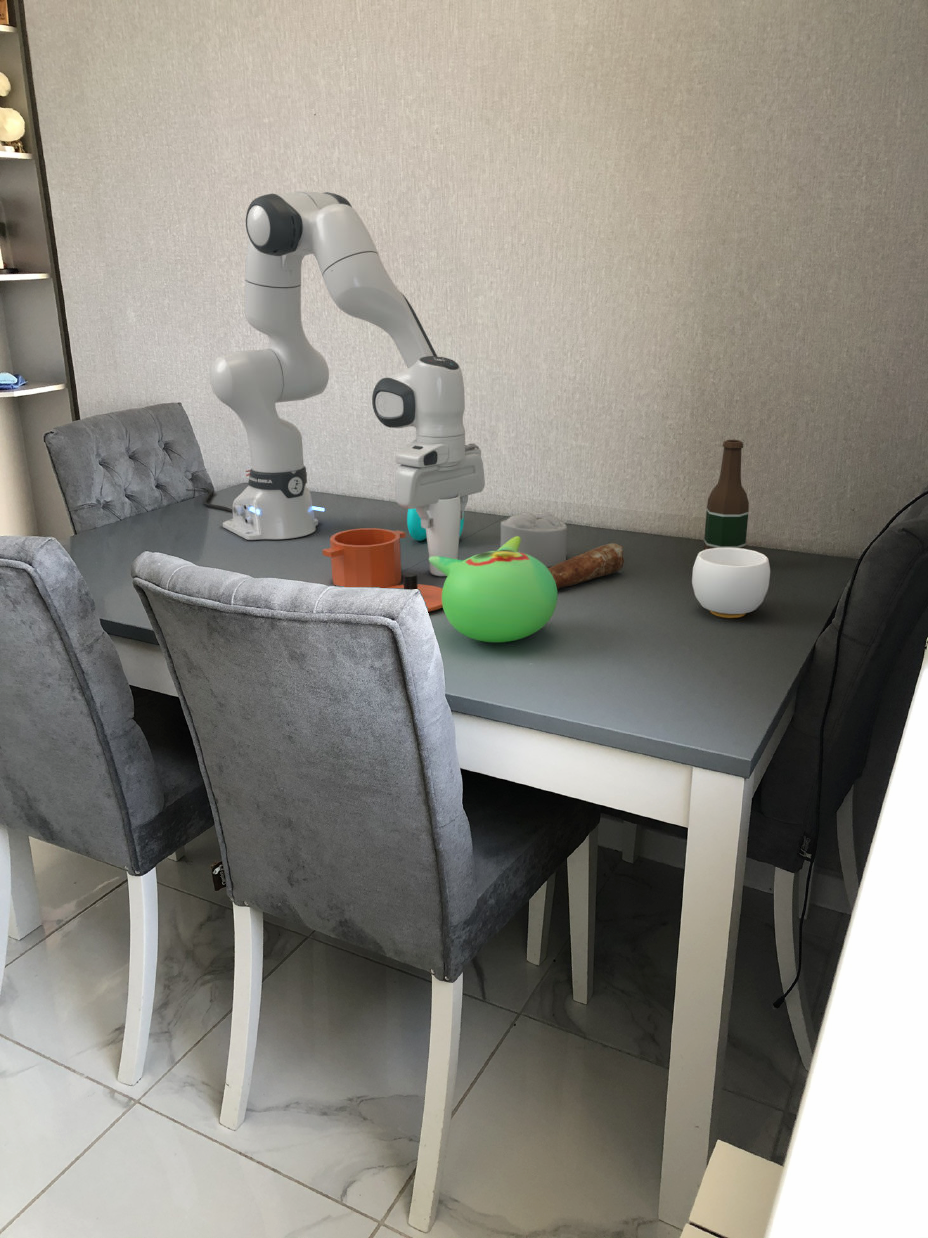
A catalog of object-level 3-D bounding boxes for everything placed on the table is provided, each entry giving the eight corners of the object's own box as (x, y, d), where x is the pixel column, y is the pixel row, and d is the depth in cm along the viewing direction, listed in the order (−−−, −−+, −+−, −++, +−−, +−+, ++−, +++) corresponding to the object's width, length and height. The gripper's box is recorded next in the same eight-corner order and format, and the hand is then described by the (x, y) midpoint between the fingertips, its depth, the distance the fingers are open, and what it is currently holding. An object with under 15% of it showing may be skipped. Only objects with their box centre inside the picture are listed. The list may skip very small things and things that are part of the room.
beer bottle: (746, 562, 188) (758, 438, 179) (739, 573, 181) (751, 445, 173) (706, 558, 191) (716, 436, 182) (698, 569, 184) (707, 442, 176)
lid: (354, 604, 167) (353, 575, 166) (412, 585, 177) (411, 558, 175) (409, 622, 158) (408, 592, 157) (467, 602, 168) (467, 573, 166)
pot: (307, 585, 177) (304, 540, 175) (381, 564, 190) (379, 522, 187) (352, 600, 169) (349, 553, 166) (425, 577, 181) (424, 533, 178)
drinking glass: (457, 579, 180) (456, 500, 175) (422, 577, 181) (419, 499, 176) (464, 568, 186) (463, 492, 181) (430, 567, 187) (428, 491, 182)
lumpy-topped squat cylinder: (525, 547, 200) (525, 506, 197) (577, 558, 192) (579, 515, 189) (493, 558, 192) (493, 516, 189) (547, 570, 184) (548, 526, 181)
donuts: (450, 549, 199) (450, 501, 195) (405, 545, 202) (404, 498, 199) (466, 536, 208) (465, 491, 204) (422, 533, 211) (421, 488, 207)
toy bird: (467, 665, 141) (466, 569, 136) (425, 628, 156) (422, 540, 151) (574, 645, 148) (577, 553, 143) (524, 612, 163) (525, 527, 157)
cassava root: (626, 574, 181) (628, 546, 179) (552, 596, 170) (552, 565, 168) (602, 566, 186) (603, 538, 184) (528, 587, 175) (528, 557, 173)
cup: (753, 630, 153) (759, 572, 150) (679, 617, 159) (683, 560, 156) (775, 607, 163) (780, 552, 160) (704, 596, 169) (708, 542, 166)
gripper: (467, 440, 185) (468, 510, 189) (388, 455, 171) (391, 531, 176) (492, 443, 180) (492, 516, 185) (412, 459, 167) (415, 537, 171)
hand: (442, 523), depth 180 cm, fingers closed on drinking glass, 7 cm apart
